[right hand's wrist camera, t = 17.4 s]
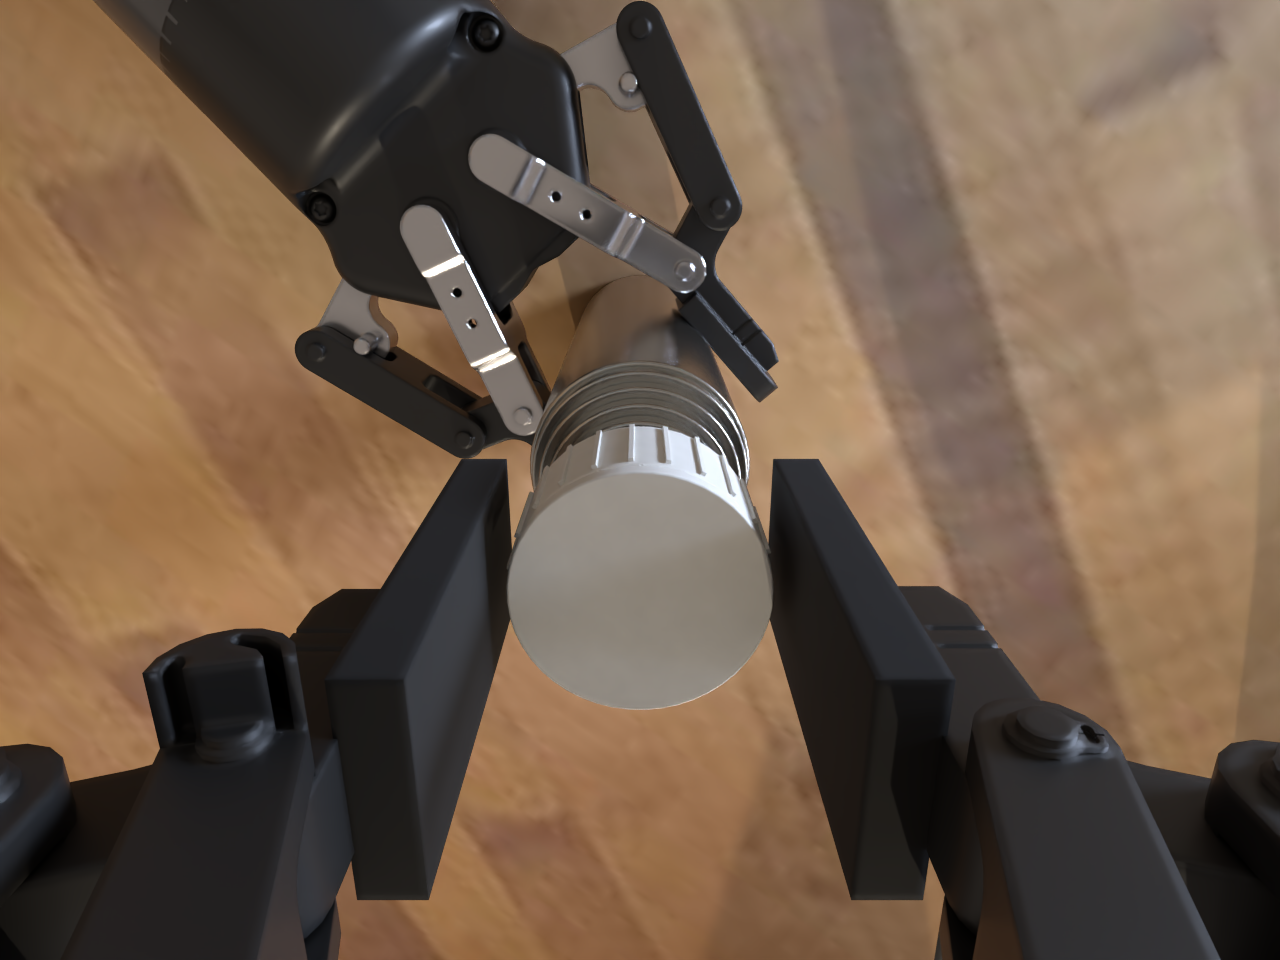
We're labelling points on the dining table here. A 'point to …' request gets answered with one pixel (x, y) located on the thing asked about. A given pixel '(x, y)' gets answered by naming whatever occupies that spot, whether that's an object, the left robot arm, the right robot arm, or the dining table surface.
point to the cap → (640, 570)
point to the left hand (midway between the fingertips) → (698, 441)
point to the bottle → (638, 378)
